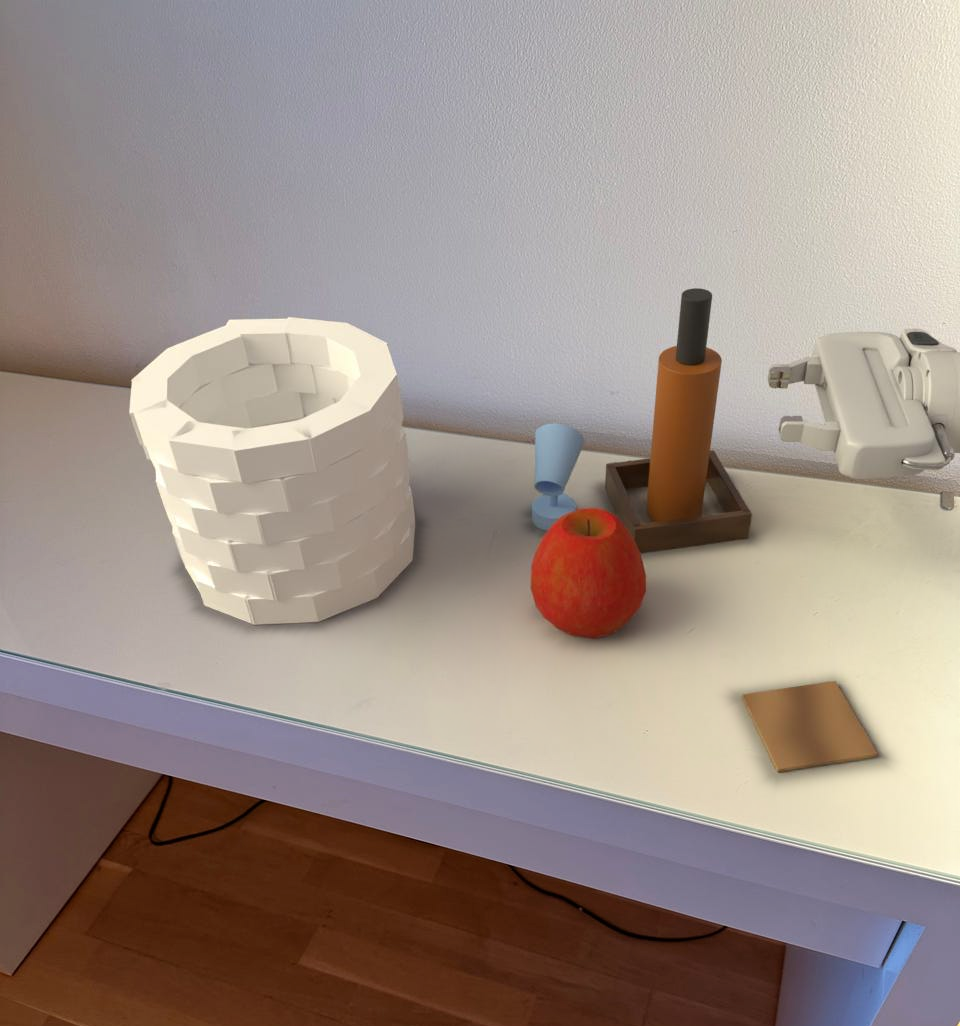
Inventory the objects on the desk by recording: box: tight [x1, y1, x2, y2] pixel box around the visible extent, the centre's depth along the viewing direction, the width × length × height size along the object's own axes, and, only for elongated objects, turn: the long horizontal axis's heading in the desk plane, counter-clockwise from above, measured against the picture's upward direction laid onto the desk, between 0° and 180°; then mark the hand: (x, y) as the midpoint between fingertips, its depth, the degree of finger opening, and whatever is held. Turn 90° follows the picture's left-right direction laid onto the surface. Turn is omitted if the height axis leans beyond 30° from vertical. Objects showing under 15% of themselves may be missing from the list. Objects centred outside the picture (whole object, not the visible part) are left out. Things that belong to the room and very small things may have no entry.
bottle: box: [645, 287, 723, 523], centre depth 90 cm, size 6×6×23 cm
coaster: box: [741, 680, 879, 773], centre depth 77 cm, size 8×8×1 cm
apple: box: [530, 507, 647, 639], centre depth 85 cm, size 10×10×10 cm
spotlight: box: [531, 423, 585, 532], centre depth 96 cm, size 5×10×7 cm
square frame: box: [604, 449, 753, 554], centre depth 97 cm, size 12×12×3 cm
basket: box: [128, 316, 416, 626], centre depth 91 cm, size 25×24×19 cm
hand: (774, 401), depth 88 cm, fingers open, 8 cm apart
